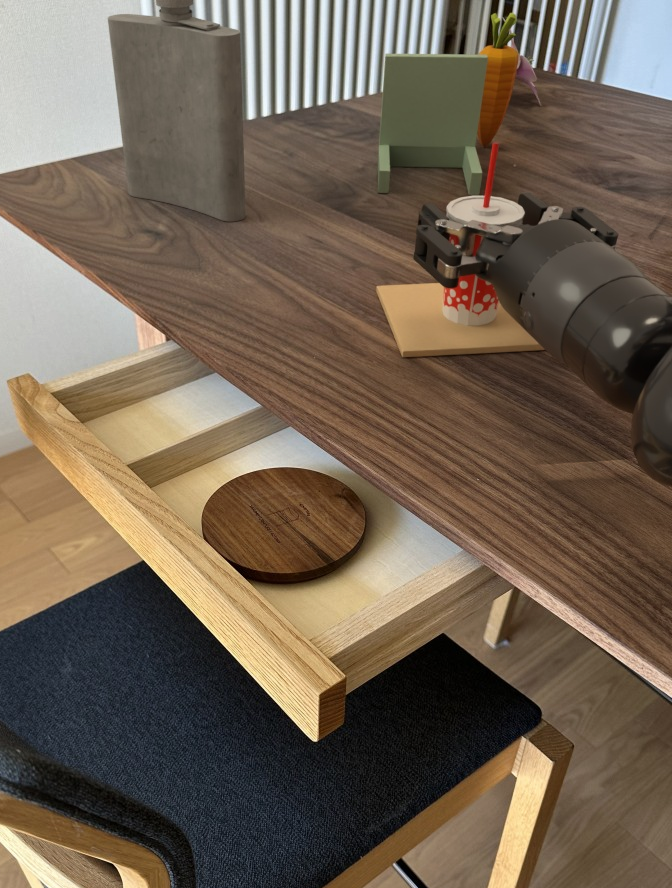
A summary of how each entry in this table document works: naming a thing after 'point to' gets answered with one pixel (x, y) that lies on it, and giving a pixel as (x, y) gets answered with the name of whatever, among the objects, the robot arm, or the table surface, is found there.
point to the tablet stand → (431, 114)
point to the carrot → (497, 79)
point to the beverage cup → (474, 295)
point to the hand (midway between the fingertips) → (473, 210)
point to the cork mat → (445, 325)
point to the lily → (525, 70)
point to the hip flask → (181, 109)
